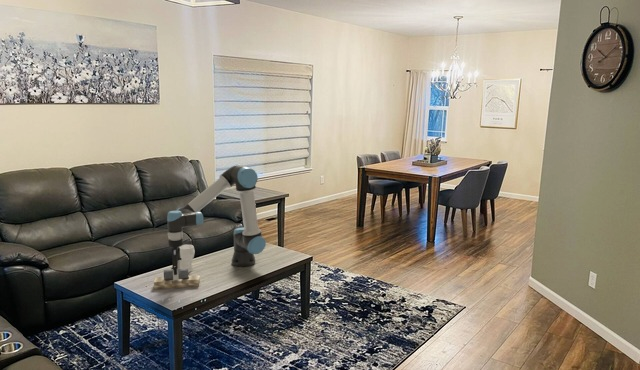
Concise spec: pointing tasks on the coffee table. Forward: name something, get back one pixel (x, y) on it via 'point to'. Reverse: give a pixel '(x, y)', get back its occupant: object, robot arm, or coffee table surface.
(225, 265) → the coffee table surface
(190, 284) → the rail
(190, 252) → the cup
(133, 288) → the coffee table surface
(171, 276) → the grey block
